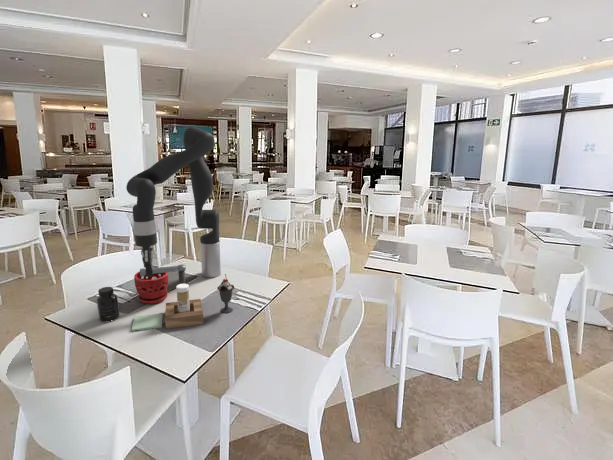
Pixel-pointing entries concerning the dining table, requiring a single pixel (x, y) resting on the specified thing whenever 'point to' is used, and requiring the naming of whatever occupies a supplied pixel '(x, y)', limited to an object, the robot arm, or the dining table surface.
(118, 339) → the dining table surface
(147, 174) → the robot arm
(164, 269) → the bar
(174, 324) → the walnut dock
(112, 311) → the supplement bottle
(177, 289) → the sprinkles bottle
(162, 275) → the plant pot
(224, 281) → the sundae
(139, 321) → the green mat
